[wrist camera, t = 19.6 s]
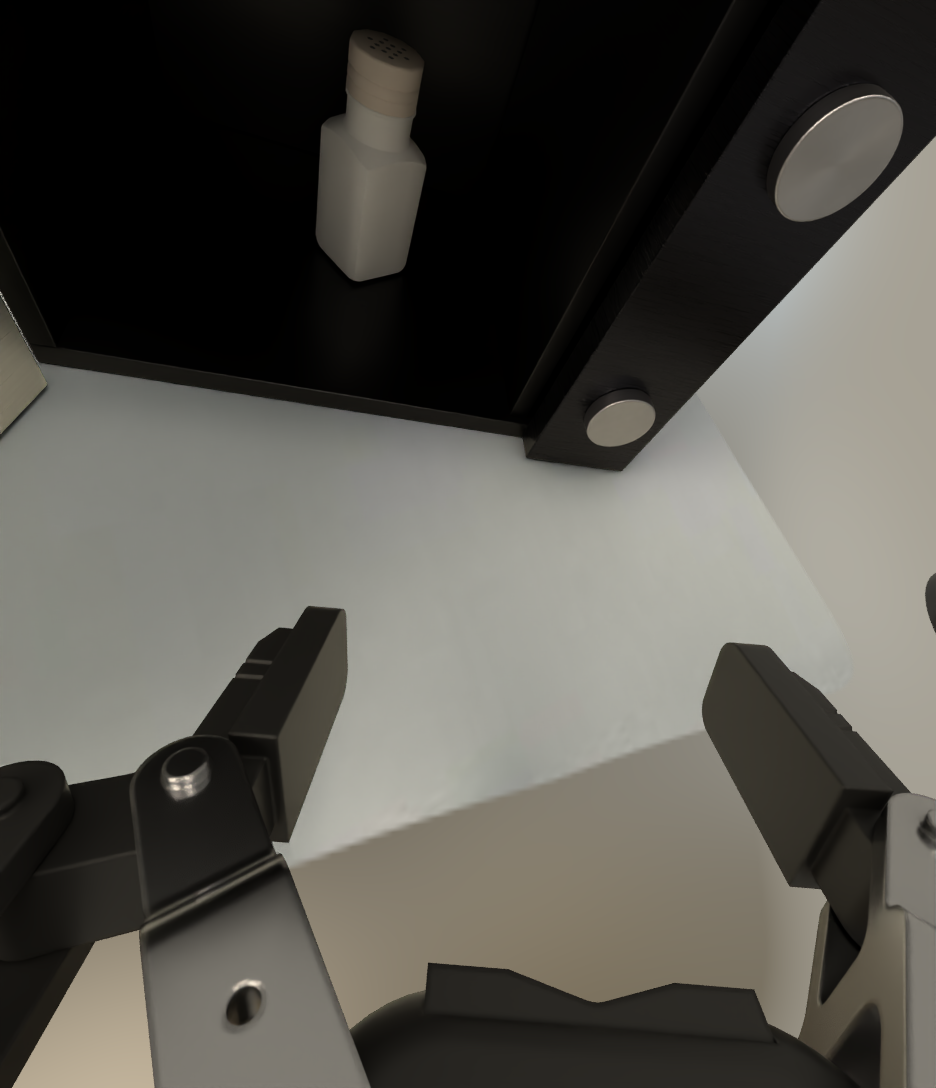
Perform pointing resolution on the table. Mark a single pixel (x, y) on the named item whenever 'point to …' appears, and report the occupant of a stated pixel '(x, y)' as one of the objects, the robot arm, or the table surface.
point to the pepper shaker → (372, 160)
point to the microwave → (447, 196)
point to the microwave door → (15, 371)
